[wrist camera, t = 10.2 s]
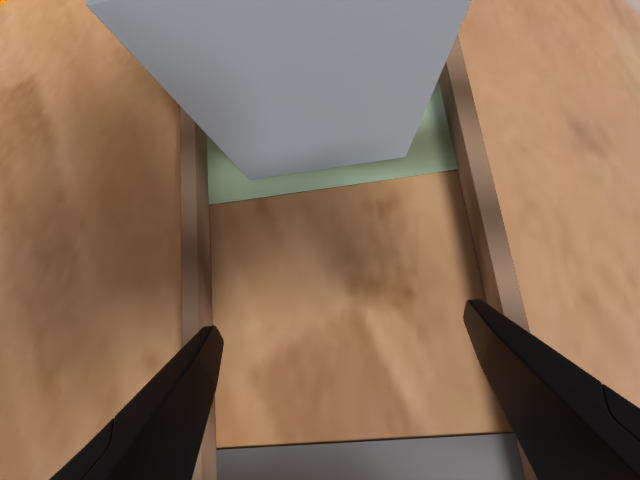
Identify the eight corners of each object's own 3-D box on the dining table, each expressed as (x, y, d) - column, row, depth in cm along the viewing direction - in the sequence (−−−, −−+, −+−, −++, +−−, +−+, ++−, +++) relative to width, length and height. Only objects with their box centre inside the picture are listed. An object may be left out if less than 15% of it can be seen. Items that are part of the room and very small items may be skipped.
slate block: (405, 156, 16) (509, -89, 6) (249, 180, 17) (86, 5, 7) (390, 73, 18) (454, -264, 7) (244, 99, 18) (98, -162, 8)
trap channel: (568, 575, 12) (598, 613, 11) (201, 578, 14) (184, 612, 13) (436, 0, 19) (443, -24, 17) (191, 49, 20) (179, 30, 19)
